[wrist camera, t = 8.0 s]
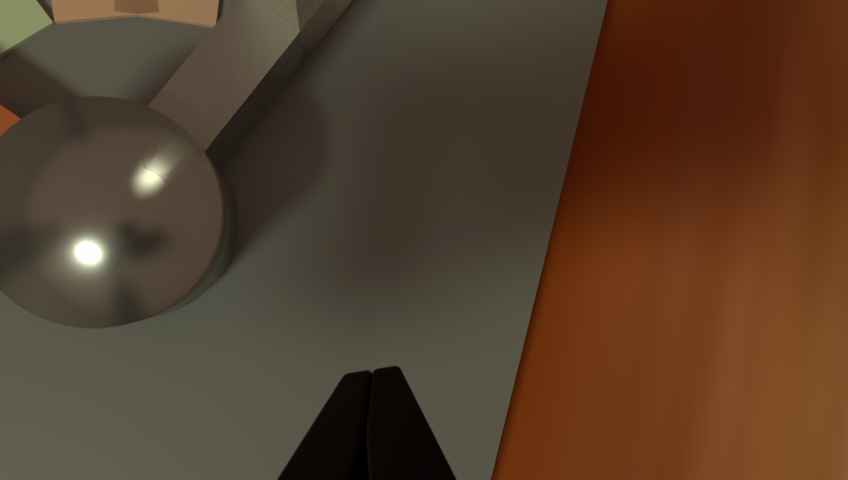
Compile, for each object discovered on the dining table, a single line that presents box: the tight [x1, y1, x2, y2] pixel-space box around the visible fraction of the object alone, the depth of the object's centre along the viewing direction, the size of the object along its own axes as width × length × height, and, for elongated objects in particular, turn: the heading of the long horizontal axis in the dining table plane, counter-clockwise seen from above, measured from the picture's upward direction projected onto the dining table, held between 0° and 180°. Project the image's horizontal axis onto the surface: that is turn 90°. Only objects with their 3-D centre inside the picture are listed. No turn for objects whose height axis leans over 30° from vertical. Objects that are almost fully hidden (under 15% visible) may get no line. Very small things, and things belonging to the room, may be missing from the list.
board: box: [0, 0, 608, 480], centre depth 16 cm, size 22×22×1 cm
